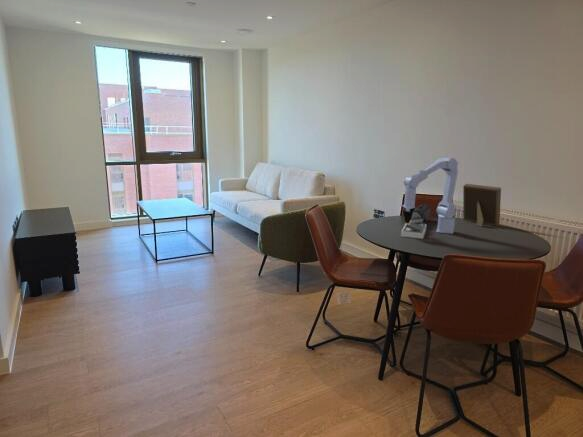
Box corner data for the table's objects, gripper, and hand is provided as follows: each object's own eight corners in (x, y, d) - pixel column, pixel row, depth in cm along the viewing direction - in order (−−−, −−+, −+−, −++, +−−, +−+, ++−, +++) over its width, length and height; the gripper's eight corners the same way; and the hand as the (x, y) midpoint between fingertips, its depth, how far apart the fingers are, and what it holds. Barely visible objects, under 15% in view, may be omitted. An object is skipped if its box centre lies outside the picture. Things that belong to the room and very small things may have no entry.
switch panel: (426, 229, 242) (426, 222, 241) (422, 238, 220) (423, 231, 219) (405, 227, 246) (406, 220, 246) (400, 236, 225) (401, 229, 224)
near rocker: (421, 228, 230) (422, 226, 229) (419, 231, 222) (420, 229, 221) (407, 223, 232) (408, 221, 232) (405, 226, 224) (406, 224, 224)
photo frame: (466, 219, 272) (470, 183, 266) (499, 225, 256) (504, 186, 250) (456, 222, 262) (460, 184, 256) (489, 228, 246) (495, 188, 241)
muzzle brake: (430, 219, 269) (431, 204, 267) (421, 228, 245) (422, 211, 243) (415, 218, 273) (417, 203, 271) (405, 226, 250) (407, 210, 247)
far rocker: (423, 220, 240) (422, 218, 240) (421, 224, 232) (421, 221, 232) (409, 222, 243) (409, 220, 243) (407, 226, 235) (407, 223, 235)
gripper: (404, 195, 233) (402, 218, 236) (401, 199, 219) (399, 223, 222) (416, 196, 230) (414, 219, 233) (414, 200, 217) (412, 224, 220)
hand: (408, 221), depth 228 cm, fingers open, 7 cm apart
